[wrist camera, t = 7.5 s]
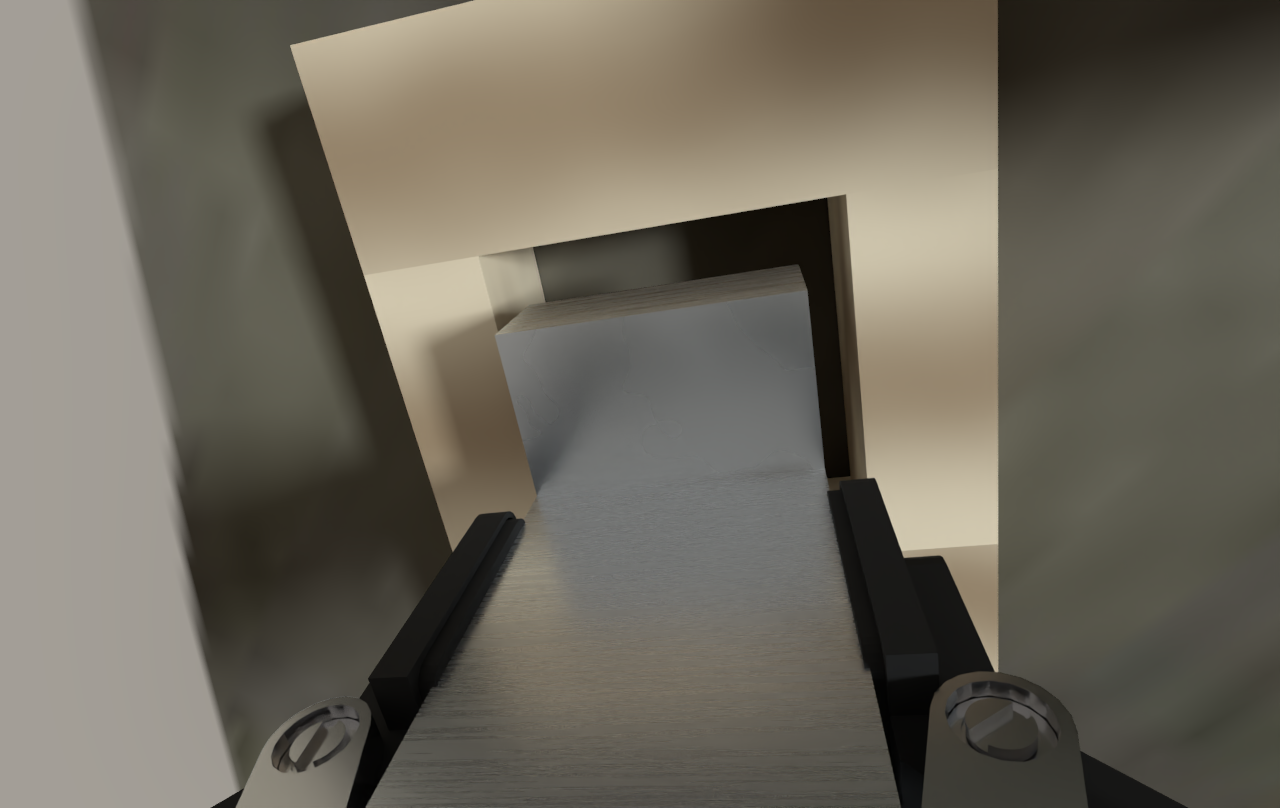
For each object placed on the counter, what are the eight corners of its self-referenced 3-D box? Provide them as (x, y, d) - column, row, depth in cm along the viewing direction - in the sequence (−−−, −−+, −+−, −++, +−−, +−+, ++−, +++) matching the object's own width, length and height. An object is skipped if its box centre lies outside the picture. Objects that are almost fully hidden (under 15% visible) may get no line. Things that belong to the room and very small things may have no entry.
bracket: (824, 532, 14) (969, 1283, 5) (588, 550, 15) (350, 1209, 6) (797, 263, 12) (949, 693, 3) (528, 305, 13) (49, 723, 4)
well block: (956, 604, 19) (998, 702, 16) (541, 628, 22) (505, 717, 18) (938, -70, 14) (997, -128, 10) (381, 59, 16) (290, 45, 13)
